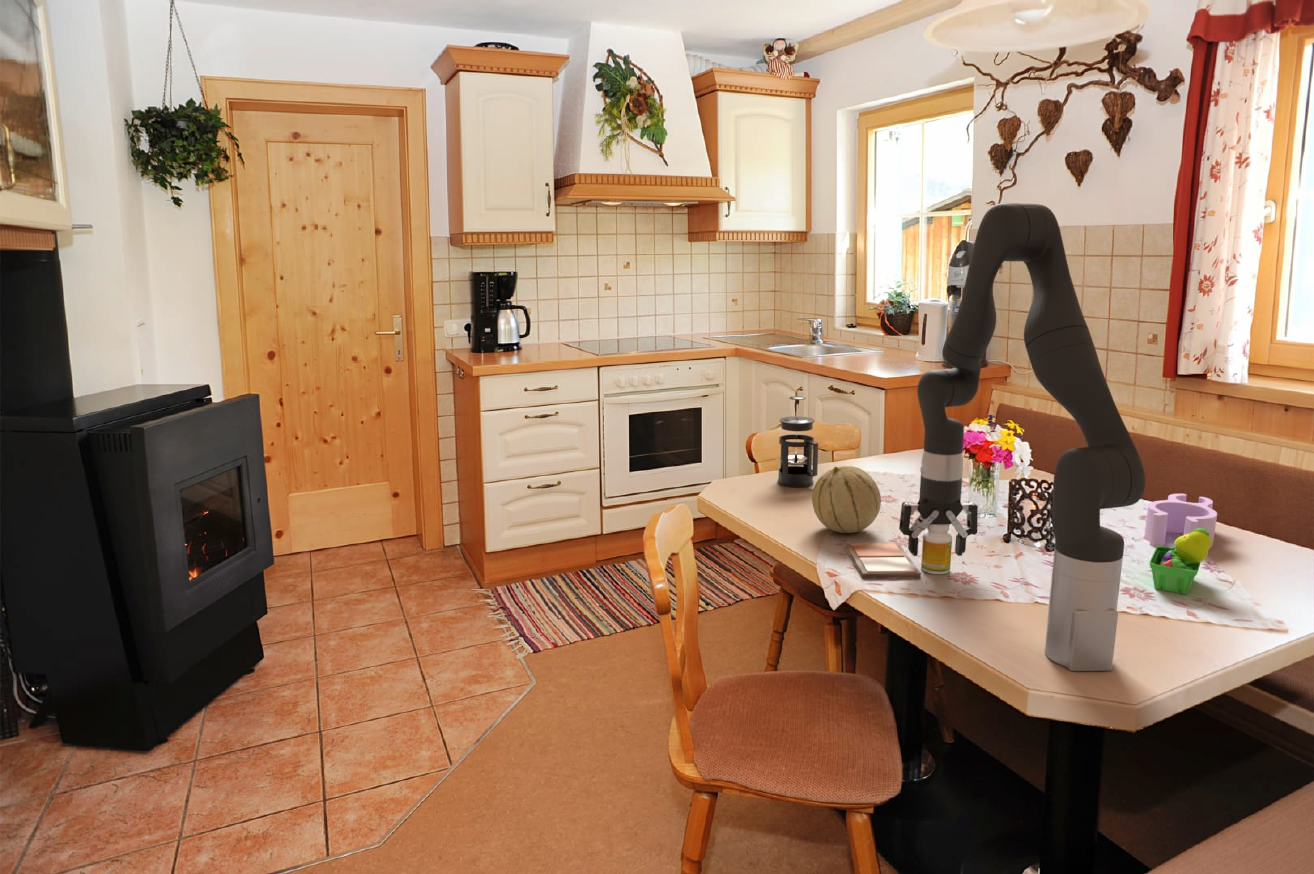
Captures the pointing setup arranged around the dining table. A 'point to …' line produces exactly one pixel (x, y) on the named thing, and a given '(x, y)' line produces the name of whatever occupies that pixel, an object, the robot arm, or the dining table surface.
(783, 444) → the french press
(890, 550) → the makeup palette
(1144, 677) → the dining table surface
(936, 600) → the dining table surface
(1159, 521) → the clip
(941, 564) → the supplement bottle
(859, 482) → the cantaloupe
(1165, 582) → the fruit basket
